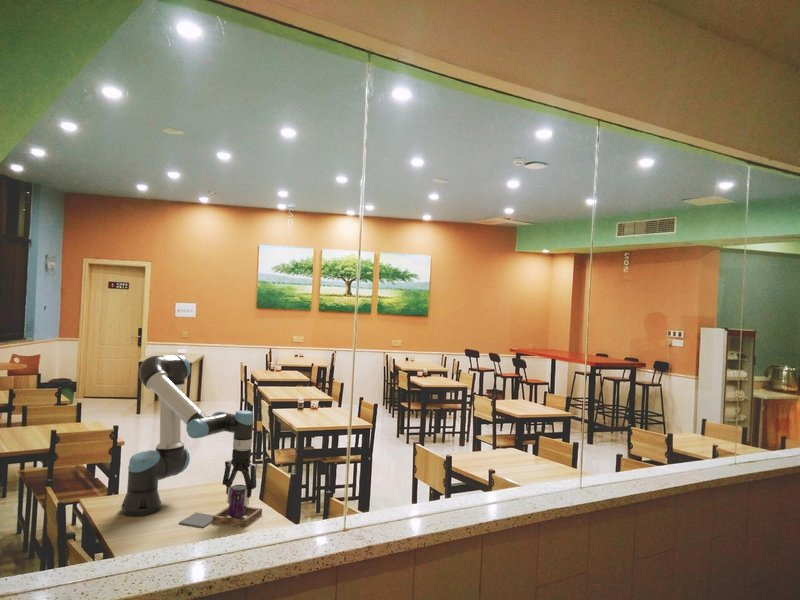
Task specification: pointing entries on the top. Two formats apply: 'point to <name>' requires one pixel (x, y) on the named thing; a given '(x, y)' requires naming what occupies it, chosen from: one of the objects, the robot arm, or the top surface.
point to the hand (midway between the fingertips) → (238, 503)
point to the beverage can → (237, 501)
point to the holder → (222, 519)
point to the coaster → (198, 520)
